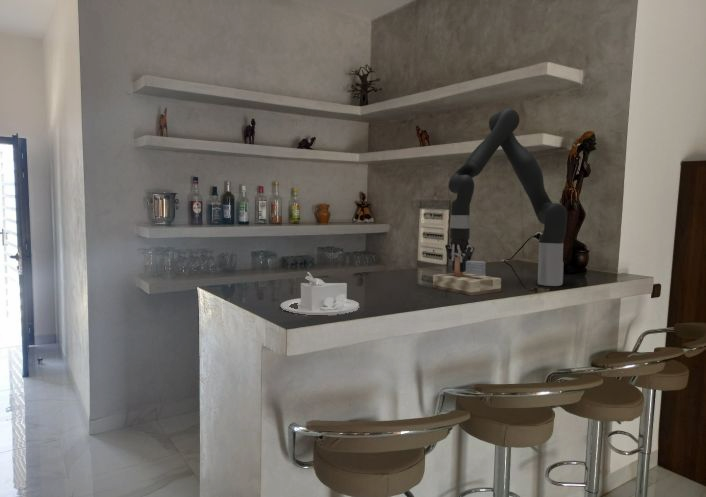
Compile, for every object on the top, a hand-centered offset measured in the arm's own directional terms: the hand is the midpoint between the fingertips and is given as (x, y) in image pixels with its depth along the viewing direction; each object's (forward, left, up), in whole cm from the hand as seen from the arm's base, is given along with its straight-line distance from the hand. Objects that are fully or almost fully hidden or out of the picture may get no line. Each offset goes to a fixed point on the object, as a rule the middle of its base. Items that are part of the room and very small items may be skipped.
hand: (458, 271), depth 200 cm
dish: (+64, +2, -7) cm, 64 cm away
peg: (0, 0, -5) cm, 5 cm away
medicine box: (-18, -8, -7) cm, 21 cm away
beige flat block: (0, +4, -7) cm, 8 cm away
